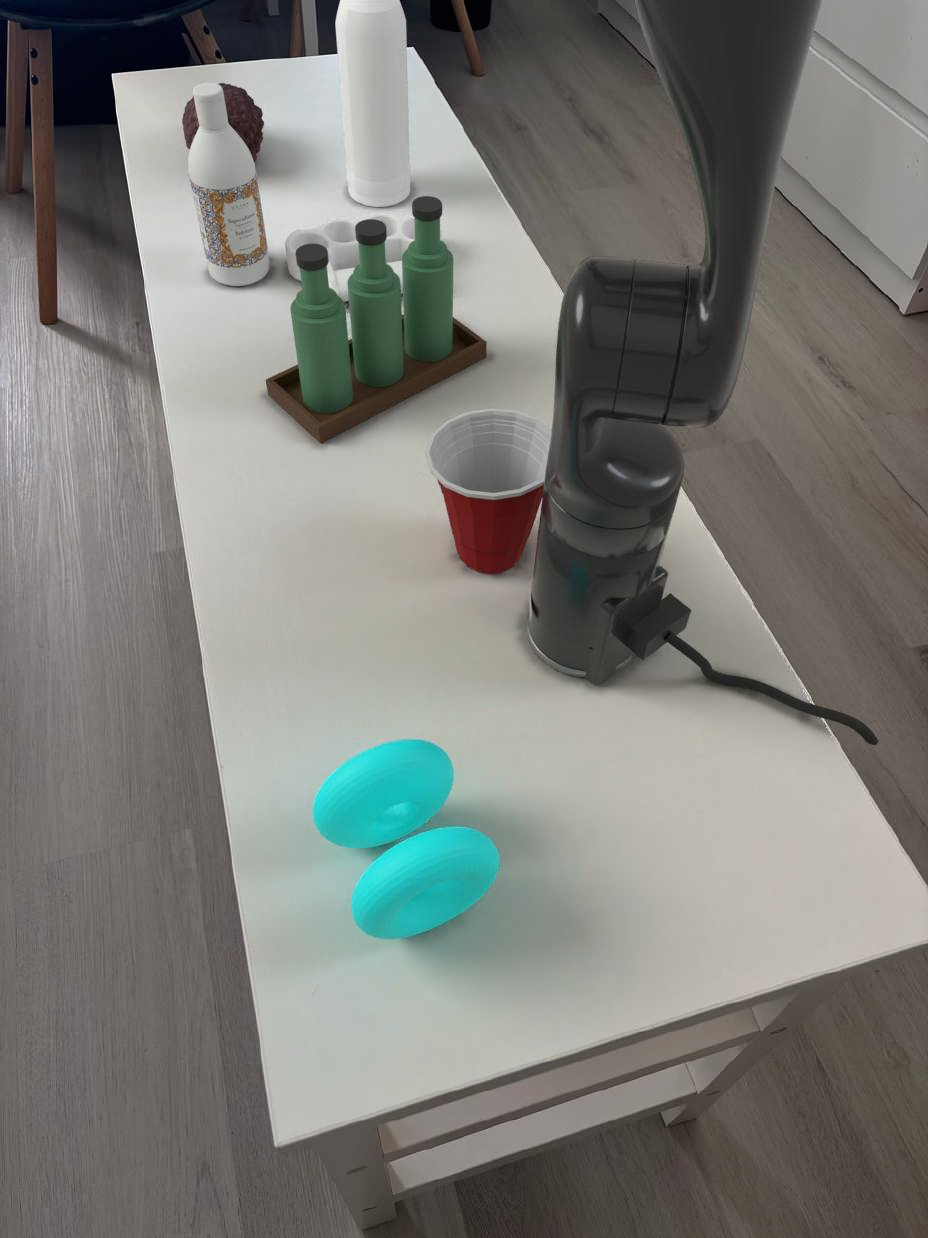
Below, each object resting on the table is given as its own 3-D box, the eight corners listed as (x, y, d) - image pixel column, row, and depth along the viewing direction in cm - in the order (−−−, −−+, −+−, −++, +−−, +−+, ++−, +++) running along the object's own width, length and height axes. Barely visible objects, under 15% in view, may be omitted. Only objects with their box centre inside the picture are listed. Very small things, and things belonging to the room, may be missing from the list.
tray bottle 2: (462, 349, 103) (465, 205, 90) (425, 368, 101) (422, 223, 88) (432, 327, 105) (431, 183, 92) (395, 345, 103) (389, 201, 90)
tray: (486, 357, 103) (487, 341, 101) (320, 443, 94) (318, 427, 93) (431, 316, 107) (431, 300, 106) (267, 395, 98) (265, 379, 97)
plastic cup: (487, 487, 91) (492, 383, 82) (574, 549, 86) (590, 448, 77) (400, 546, 86) (396, 444, 77) (488, 616, 82) (494, 516, 72)
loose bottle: (363, 399, 98) (351, 254, 85) (321, 420, 96) (303, 275, 83) (333, 375, 100) (318, 229, 87) (293, 394, 98) (271, 249, 85)
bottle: (423, 187, 124) (419, -95, 100) (387, 214, 120) (374, -73, 96) (372, 168, 126) (356, -111, 103) (335, 195, 122) (309, -90, 98)
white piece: (302, 317, 107) (280, 244, 115) (461, 293, 110) (428, 224, 118) (299, 290, 104) (276, 217, 112) (462, 266, 107) (428, 198, 116)
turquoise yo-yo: (366, 965, 64) (356, 907, 56) (314, 836, 69) (298, 767, 61) (503, 903, 67) (512, 839, 59) (442, 784, 72) (442, 711, 64)
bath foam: (225, 295, 109) (188, 111, 93) (199, 264, 112) (160, 82, 96) (281, 276, 111) (255, 94, 95) (254, 247, 115) (224, 66, 99)
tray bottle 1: (413, 374, 100) (409, 229, 88) (374, 394, 98) (364, 249, 86) (383, 350, 102) (376, 206, 90) (345, 369, 100) (331, 224, 88)
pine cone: (169, 134, 131) (192, 57, 126) (241, 166, 135) (266, 92, 131) (175, 162, 117) (202, 76, 113) (255, 197, 122) (283, 115, 117)
